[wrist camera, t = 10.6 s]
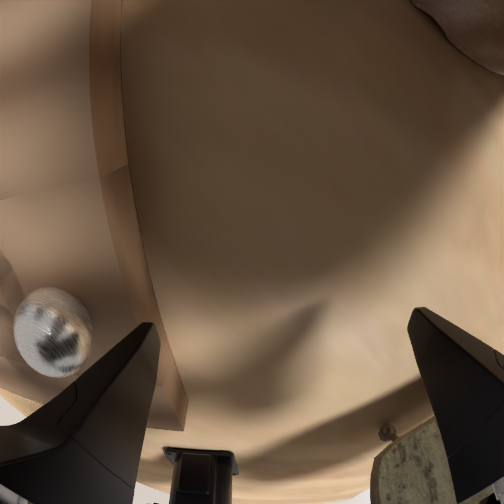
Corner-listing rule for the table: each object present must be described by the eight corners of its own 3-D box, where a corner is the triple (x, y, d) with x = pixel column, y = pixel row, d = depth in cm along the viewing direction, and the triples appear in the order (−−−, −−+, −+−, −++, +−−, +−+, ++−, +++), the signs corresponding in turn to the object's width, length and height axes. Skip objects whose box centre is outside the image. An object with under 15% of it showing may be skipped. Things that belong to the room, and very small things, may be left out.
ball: (117, 339, 11) (90, 403, 8) (58, 333, 11) (27, 386, 8) (91, 269, 9) (44, 331, 6) (30, 270, 9) (-16, 320, 6)
